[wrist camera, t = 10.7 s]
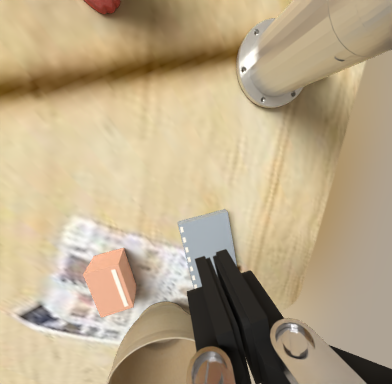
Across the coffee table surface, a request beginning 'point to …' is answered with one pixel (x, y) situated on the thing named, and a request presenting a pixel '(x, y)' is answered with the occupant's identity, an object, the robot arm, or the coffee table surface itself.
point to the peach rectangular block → (111, 282)
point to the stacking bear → (104, 5)
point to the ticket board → (205, 239)
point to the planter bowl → (155, 348)
